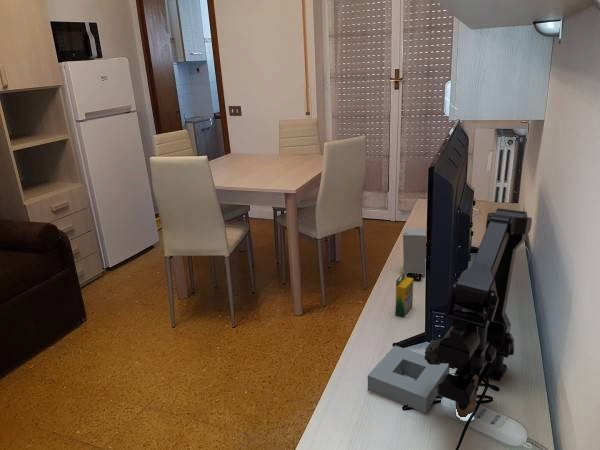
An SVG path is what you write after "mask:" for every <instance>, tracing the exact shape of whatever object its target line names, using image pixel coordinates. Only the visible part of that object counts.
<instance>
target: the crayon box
mask: <svg viewBox="0 0 600 450" xmlns="http://www.w3.org/2000/svg"><path fill="white" fill-rule="evenodd" d="M395 285H396V286H395V306H394V307H395V312H394V313H395V314H394V316H396V317H401V318H405V316H406V315H407V314H408V312H409V311H410V310H411V309H412V308H413V298H414V296H413V295H414V278H413V277H410V276H409V277H408V276H406V274H405V271H404V270H403V272H402V273H401V274H400V275H399V277H398V278H397V279H396V280H395Z"/></svg>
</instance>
